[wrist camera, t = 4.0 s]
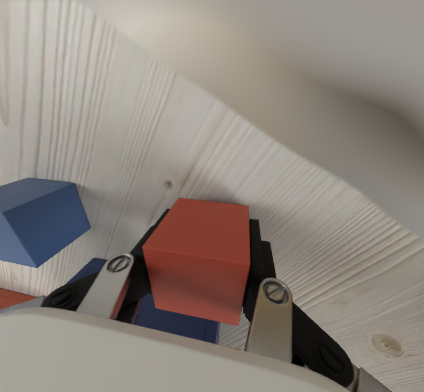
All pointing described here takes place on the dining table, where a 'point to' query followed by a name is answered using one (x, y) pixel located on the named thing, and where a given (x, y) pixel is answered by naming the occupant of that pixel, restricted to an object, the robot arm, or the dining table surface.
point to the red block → (200, 260)
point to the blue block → (38, 220)
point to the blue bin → (163, 314)
